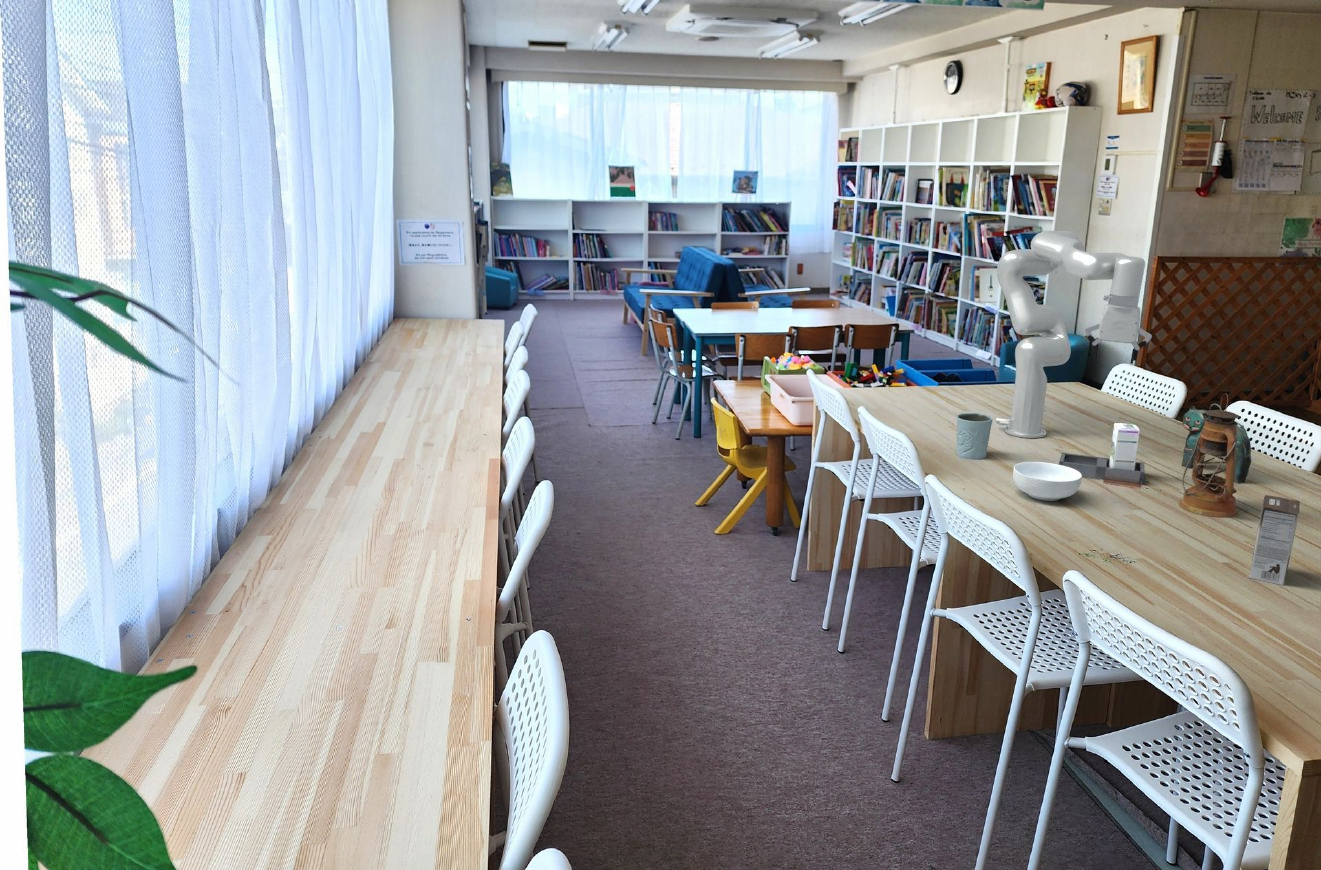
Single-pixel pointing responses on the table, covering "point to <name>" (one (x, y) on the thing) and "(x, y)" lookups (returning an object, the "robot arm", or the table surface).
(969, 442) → the embossed ceramic cup
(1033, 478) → the cereal bowl
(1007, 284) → the robot arm
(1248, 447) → the ceramic cat
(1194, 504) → the lantern
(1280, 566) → the coffee box
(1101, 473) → the holder
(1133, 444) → the syrup box
